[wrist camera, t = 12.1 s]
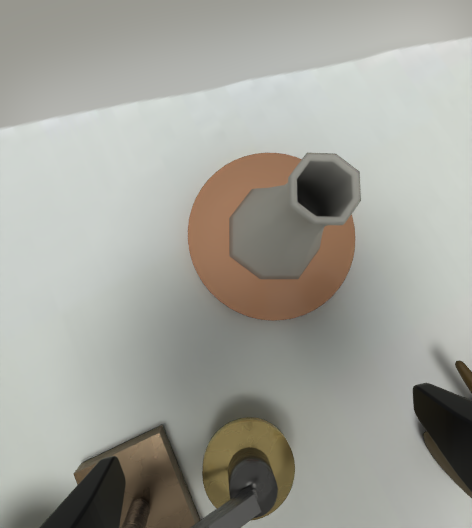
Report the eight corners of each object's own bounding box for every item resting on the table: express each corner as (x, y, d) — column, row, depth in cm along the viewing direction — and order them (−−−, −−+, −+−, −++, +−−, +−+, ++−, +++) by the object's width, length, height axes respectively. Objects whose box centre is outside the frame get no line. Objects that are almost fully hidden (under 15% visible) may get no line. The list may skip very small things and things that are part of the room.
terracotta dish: (376, 213, 24) (383, 210, 23) (298, 350, 22) (302, 353, 21) (244, 128, 24) (246, 121, 23) (155, 261, 22) (153, 260, 21)
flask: (213, 264, 21) (216, 240, 11) (243, 175, 22) (270, 82, 12) (304, 294, 22) (384, 297, 12) (330, 206, 22) (425, 139, 13)
